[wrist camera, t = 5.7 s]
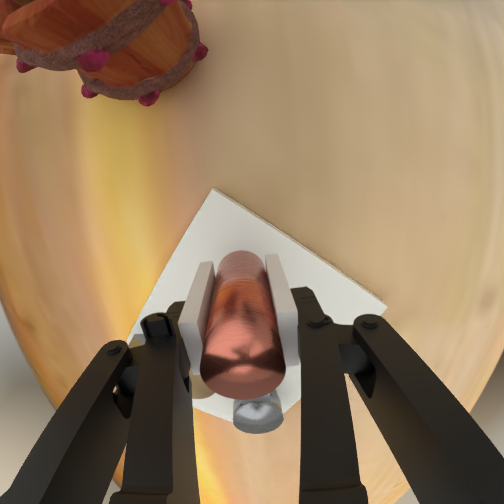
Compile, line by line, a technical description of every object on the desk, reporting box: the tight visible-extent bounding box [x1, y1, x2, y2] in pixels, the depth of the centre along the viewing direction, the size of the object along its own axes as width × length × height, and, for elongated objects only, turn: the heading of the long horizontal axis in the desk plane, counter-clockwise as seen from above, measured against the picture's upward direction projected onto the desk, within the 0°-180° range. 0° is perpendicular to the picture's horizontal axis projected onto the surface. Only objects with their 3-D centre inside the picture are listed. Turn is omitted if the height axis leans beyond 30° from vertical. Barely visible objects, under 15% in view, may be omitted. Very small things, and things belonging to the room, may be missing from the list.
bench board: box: [126, 188, 387, 422], centre depth 23 cm, size 19×17×2 cm
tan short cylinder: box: [189, 366, 215, 399], centre depth 21 cm, size 4×4×4 cm
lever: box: [200, 250, 286, 434], centre depth 16 cm, size 18×4×10 cm, turn 5°
